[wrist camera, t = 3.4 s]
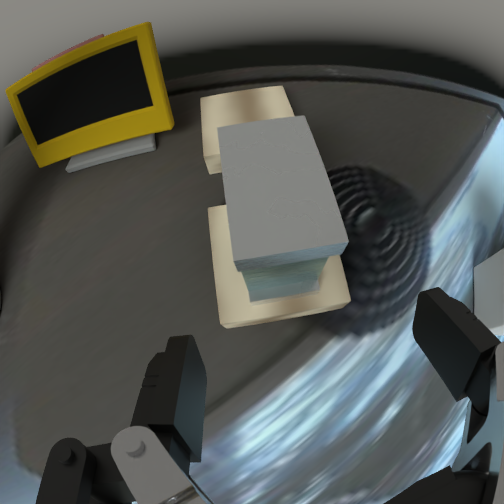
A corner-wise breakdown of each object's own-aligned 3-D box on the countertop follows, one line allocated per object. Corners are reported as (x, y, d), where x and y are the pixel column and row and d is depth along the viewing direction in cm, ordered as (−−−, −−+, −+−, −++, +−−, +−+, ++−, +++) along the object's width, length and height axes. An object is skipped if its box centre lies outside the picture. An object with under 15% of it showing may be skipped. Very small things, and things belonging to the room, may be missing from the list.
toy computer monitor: (52, 181, 32) (-12, 111, 18) (66, 141, 35) (16, 72, 21) (180, 149, 32) (136, 35, 17) (184, 108, 34) (153, 8, 20)
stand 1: (209, 174, 30) (203, 156, 27) (205, 115, 33) (200, 98, 31) (302, 159, 30) (304, 141, 27) (282, 103, 33) (282, 85, 30)
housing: (251, 306, 21) (233, 261, 12) (237, 212, 24) (216, 127, 15) (317, 294, 21) (348, 241, 12) (295, 203, 24) (304, 115, 15)
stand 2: (226, 328, 24) (220, 324, 21) (214, 223, 27) (207, 207, 25) (342, 308, 24) (350, 300, 21) (316, 206, 27) (320, 189, 25)
